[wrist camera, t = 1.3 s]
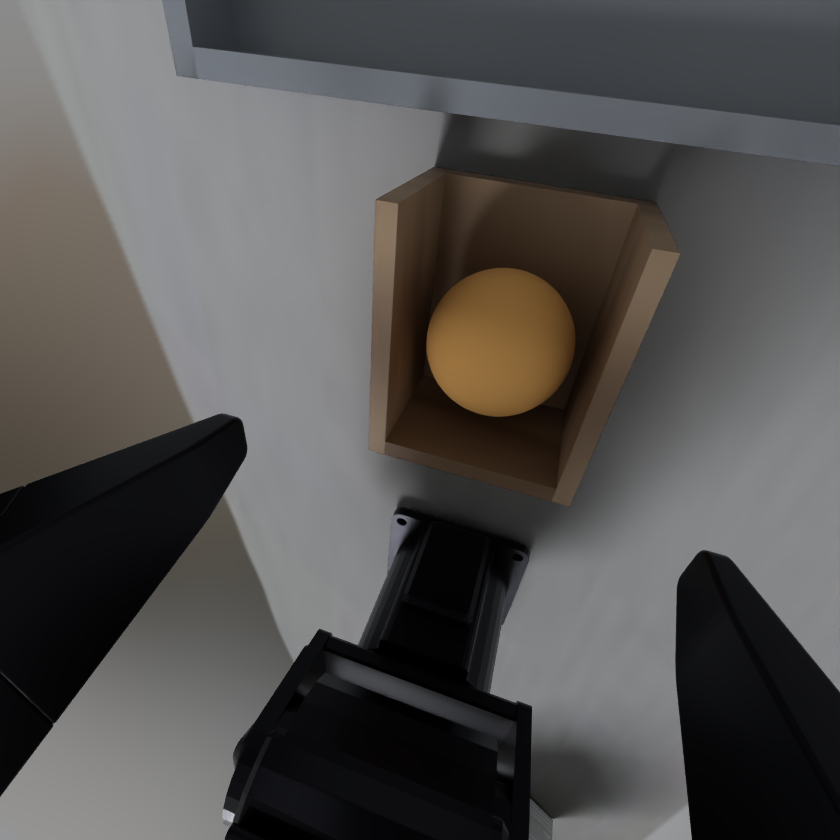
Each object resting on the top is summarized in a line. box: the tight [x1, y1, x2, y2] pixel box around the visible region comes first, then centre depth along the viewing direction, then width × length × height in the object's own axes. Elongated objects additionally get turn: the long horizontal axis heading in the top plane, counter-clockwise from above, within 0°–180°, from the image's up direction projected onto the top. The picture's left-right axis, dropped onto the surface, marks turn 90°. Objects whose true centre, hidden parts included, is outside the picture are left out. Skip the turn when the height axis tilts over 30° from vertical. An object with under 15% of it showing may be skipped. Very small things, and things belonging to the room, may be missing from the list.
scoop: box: [369, 167, 681, 507], centre depth 13 cm, size 7×6×4 cm
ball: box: [426, 268, 576, 417], centre depth 13 cm, size 4×4×4 cm
